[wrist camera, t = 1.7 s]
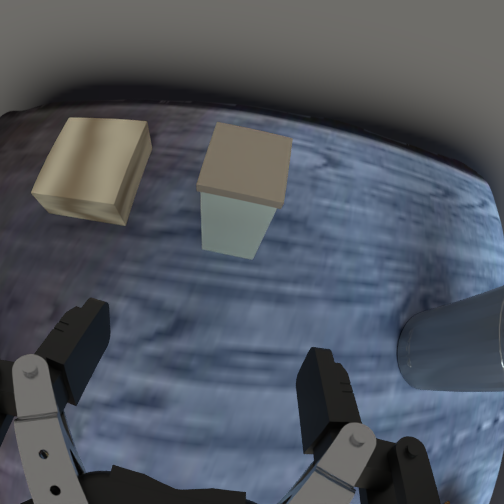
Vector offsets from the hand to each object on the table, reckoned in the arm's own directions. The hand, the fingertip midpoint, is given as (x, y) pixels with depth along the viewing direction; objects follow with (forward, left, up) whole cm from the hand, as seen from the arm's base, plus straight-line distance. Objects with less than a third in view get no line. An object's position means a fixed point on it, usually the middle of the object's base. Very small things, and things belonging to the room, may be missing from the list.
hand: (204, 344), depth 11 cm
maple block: (+16, -15, -16) cm, 27 cm away
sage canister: (0, -12, -16) cm, 20 cm away
